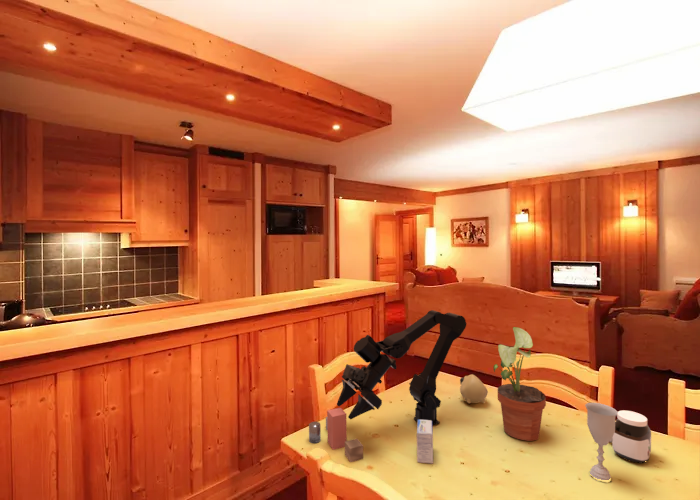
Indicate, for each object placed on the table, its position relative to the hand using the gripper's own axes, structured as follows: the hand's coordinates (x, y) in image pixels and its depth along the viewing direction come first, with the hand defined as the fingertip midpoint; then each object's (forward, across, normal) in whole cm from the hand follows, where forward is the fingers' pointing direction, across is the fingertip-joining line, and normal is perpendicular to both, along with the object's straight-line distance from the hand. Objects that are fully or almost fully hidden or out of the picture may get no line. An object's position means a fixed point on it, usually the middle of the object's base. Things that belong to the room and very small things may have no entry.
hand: (343, 411), depth 113 cm
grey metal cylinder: (+12, -5, +2) cm, 13 cm away
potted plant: (-31, +19, +44) cm, 57 cm away
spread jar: (-45, +39, +58) cm, 83 cm away
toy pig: (-33, -5, +46) cm, 57 cm away
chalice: (-32, +43, +46) cm, 70 cm away
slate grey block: (+7, -8, +7) cm, 13 cm away
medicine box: (-6, +16, +20) cm, 27 cm away
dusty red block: (+8, 0, +5) cm, 10 cm away
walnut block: (+7, +8, +7) cm, 13 cm away
